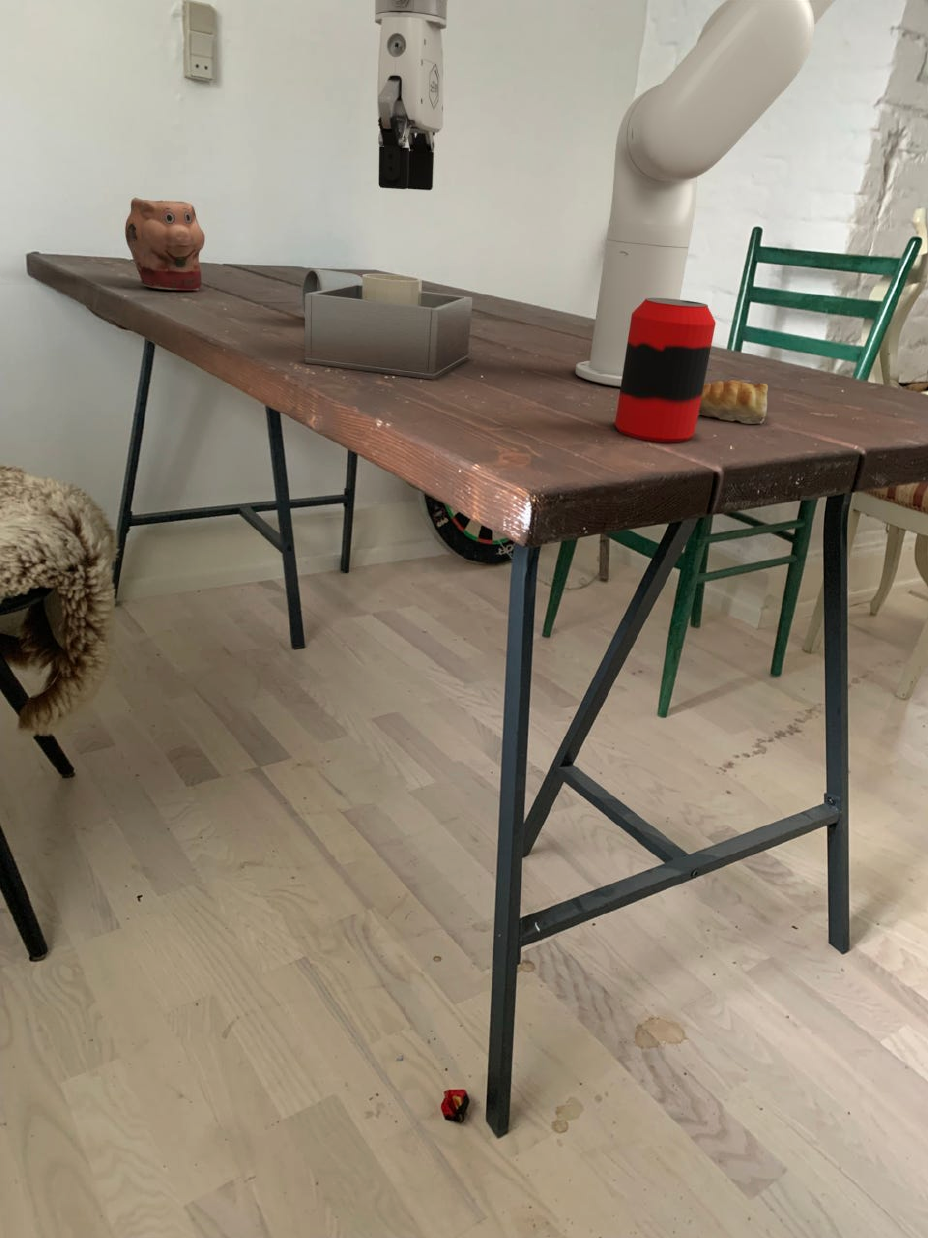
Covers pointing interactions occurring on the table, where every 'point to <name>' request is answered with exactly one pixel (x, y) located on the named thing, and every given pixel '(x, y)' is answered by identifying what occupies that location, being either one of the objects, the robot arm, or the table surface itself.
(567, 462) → the table surface
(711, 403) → the pastry
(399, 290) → the cup
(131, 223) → the decorative planter
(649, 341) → the soda can
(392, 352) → the grey open box
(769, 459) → the table surface
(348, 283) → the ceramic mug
